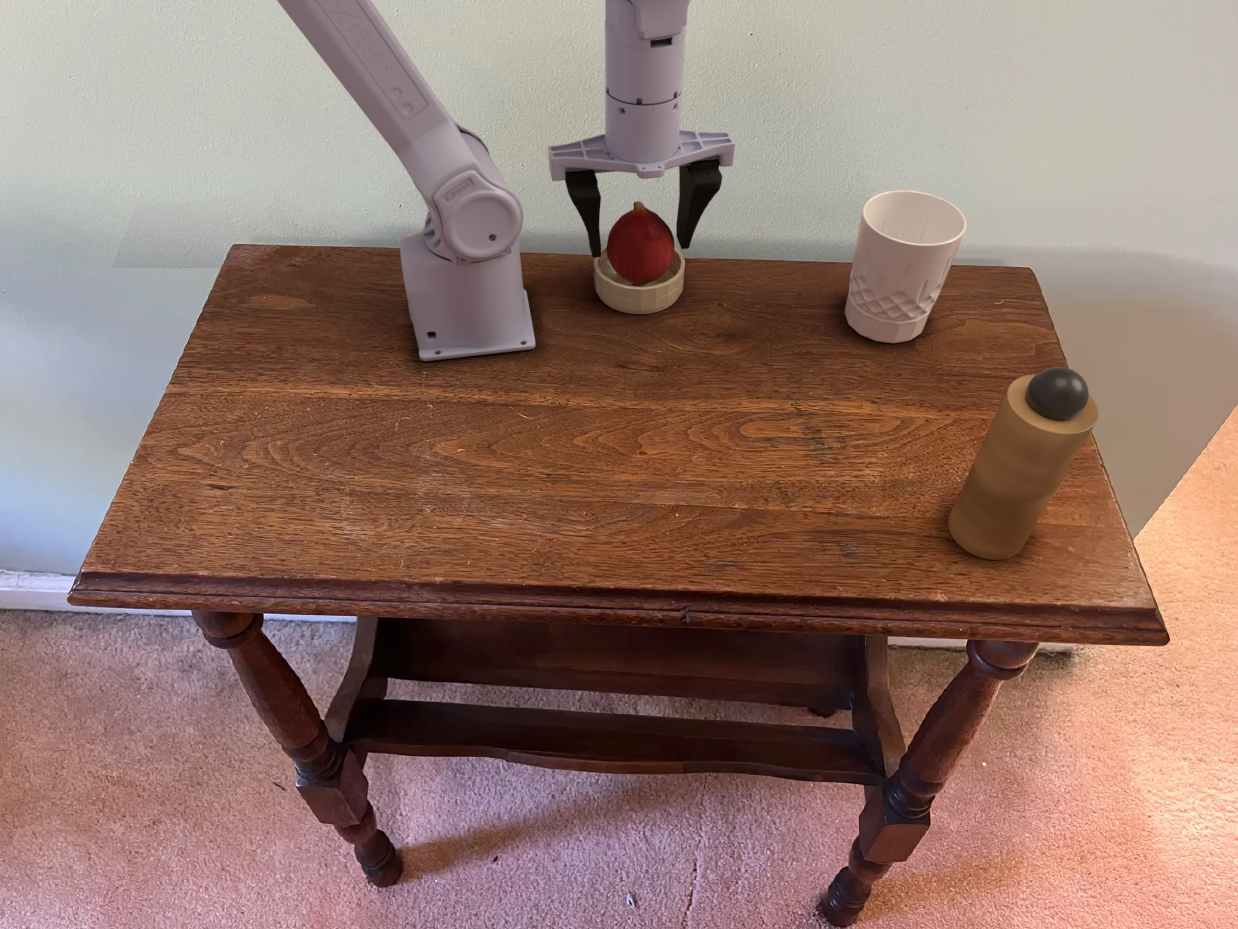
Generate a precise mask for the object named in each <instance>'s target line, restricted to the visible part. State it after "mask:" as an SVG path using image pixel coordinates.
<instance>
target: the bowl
mask: <svg viewBox="0 0 1238 929" xmlns="http://www.w3.org/2000/svg"><path fill="white" fill-rule="evenodd" d="M606 247H607V244H604V245H603V246H601V257H596V258H593V286H594V289H595V292H596V294H597V295H598V297H599V299H600V300H601V301H602V302H603V303H604V304H605V305H606V306H608V307H609V308H611V309H613V310H616V311H618V312H621V313H626V314H632V315H648V314H654V313H657V312H661V311H664V310H665V309H668V308H670V307H671V306H672V305H673V304H675V302H677V301H678V299H679V297H680V296H681V294H682V292H683V290H684V284H685V270H686V260H685V258H684V255H683V253H682V252H681V251H680V250H679V249H678V248H677V247H676V246H675V247H674V255H673V260H672V264H671V265H670V267H669V268H668V270H667V271H666V272H665V273H664V274H663V275H662V276H661V277H659V278H658V279H656V280H655V281H652V282H650V283H647V284H643V285H639V286H638V285H635V284H633V283H631V282H630V281H628V280H626V279H624V278H622V277H621V276H620V275H619V274H618V273H617V272H616V271H615V270H614V269H613V267H612V266H611V264H610V262H609V259H608V257H607V251H606Z"/></svg>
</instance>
